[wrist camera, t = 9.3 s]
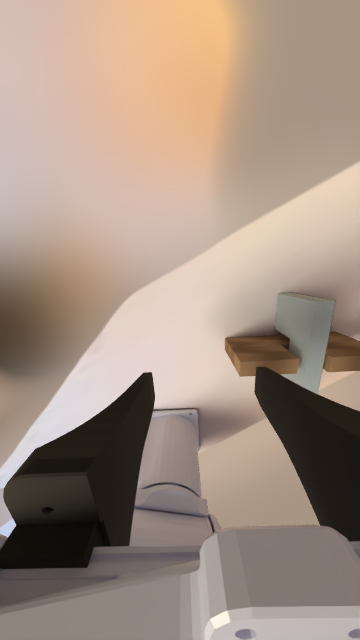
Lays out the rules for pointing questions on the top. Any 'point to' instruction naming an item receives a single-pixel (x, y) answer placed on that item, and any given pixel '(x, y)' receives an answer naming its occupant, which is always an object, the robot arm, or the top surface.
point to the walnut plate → (289, 354)
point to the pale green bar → (305, 334)
